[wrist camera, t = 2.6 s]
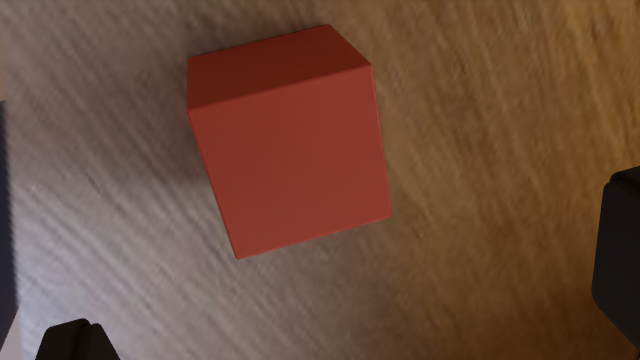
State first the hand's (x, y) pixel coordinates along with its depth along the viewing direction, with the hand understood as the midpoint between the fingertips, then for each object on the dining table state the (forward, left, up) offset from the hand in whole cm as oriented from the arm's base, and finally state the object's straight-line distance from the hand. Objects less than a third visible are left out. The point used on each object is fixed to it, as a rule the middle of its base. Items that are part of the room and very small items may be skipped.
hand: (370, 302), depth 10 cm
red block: (0, 0, -11) cm, 11 cm away
